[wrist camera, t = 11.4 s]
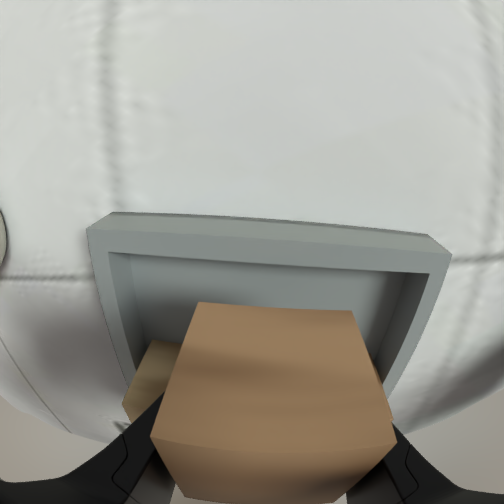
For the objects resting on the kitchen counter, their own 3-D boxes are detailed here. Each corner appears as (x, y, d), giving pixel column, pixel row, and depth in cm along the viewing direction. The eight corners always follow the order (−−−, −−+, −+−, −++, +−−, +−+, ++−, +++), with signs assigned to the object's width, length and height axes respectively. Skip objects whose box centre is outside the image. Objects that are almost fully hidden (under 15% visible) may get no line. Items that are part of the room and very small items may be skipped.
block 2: (321, 401, 11) (333, 502, 6) (206, 394, 11) (185, 497, 6) (351, 310, 9) (397, 441, 4) (198, 301, 9) (149, 436, 4)
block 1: (235, 349, 15) (225, 423, 11) (234, 400, 17) (227, 462, 13) (152, 339, 15) (121, 403, 11) (164, 390, 17) (144, 447, 13)
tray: (427, 234, 12) (452, 254, 10) (359, 406, 18) (365, 432, 16) (112, 212, 13) (86, 228, 10) (151, 393, 18) (141, 418, 16)
